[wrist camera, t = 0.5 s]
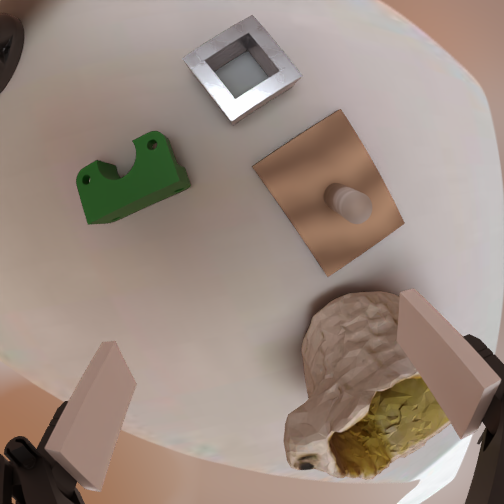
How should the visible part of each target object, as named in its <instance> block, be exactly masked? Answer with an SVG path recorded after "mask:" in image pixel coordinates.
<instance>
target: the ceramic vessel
mask: <svg viewBox="0 0 504 504" xmlns="http://www.w3.org/2000/svg"><path fill="white" fill-rule="evenodd" d="M399 299H400V297H399V296H397V295H394V294H391V293H388V292H383V291H375V292H358V293H349V294H346V295H344V296H341V297H339V298H336V299H334V300H332V301H331V302H330V303H328V304H327V305H326V306H325V307H324V308H323V309H321V310H320V311H319V312H318V313H316V314H315V315H314V316H313V317H312V320H311V324H310V326H309V328H308V331H307V333H306V335H305V337H304V340H303V343H302V349H301V352H302V357H303V362H304V374H305V380H306V387H307V393H308V396H309V397H308V398H309V399H308V400H307V401H306V402H305V403H304V404H303V405H301V406H300V407H298V408H297V409H295V410H294V411H293V412H291V413H290V414H288V417H287V420H286V423H285V433H284V445H285V451H286V457H287V461H288V463H289V465H290V466H291V468H294V469H297V470H308V469H317V470H320V471H324V472H327V473H328V474H329V475H331V476H334V477H337V478H344V477H345V476H347V477H351V478H356V477H360V478H362V479H365V480H367V479H373V478H374V477H375V476H376V475H377V474H380V473H381V472H382V470H384V469H385V468H387V467H389V464H390V463H392V462H393V461H395V460H396V459H397V458H399V457H404V458H405V457H406V456H407V455H408V454H411V453H413V452H415V451H416V450H418V449H419V448H421V447H422V446H424V445H425V443H426V441H427V440H429V439H430V438H432V437H433V436H435V435H436V434H438V433H439V432H441V431H442V430H443V429H444V428H446V427H447V426H448V425H449V424H451V422H450V421H449V419H448V418H447V416H446V414H445V413H444V411H443V410H442V408H441V406H440V405H439V403H438V402H437V400H436V399H435V397H434V395H433V394H432V392H431V391H430V389H429V388H428V386H427V385H426V383H425V382H424V380H423V379H422V377H421V376H420V374H419V373H418V371H417V370H416V368H415V367H414V365H413V364H412V362H411V361H410V359H409V358H408V356H407V355H406V354H405V352H404V351H403V349H402V348H401V346H400V345H399V343H398V342H397V341H396V340H397V329H398V316H399ZM459 334H460V333H459ZM460 335H461V334H460ZM461 336H462V335H461ZM462 337H463V336H462Z"/></svg>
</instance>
